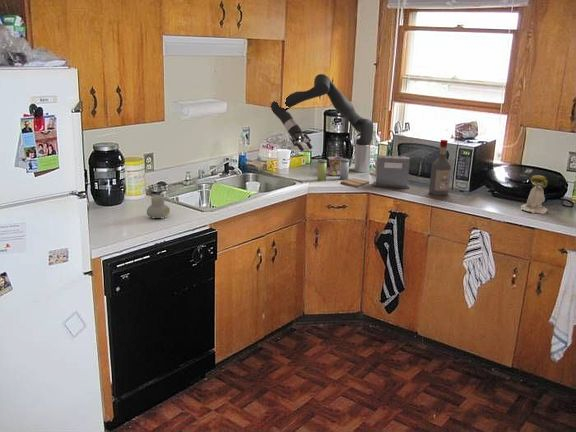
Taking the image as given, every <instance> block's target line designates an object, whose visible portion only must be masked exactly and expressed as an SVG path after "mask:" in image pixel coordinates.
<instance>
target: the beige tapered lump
mask: <svg viewBox="0 0 576 432" xmlns="http://www.w3.org/2000/svg"><path fill="white" fill-rule="evenodd" d="M530 182H531V187H532V188H531V189H530V192H529V193H528V194H529V195H528V198H527V200H526V203H525V204H522V205H520V211H522V210H523V211H526V212H530V213H531V214H537V213H538V214H542V215H543V214H547V213H548V208H546V207H545V206H543V203H544V202H545V200H546V198H545V194H544V193H545V192H544V189H545V188H546V187H548V180H547V177H545V176H544V175H540V174H538V175H537V174H536V175H535V174H534V175H532V176H531V178H530Z"/></svg>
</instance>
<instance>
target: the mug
mask: <svg viewBox="0 0 576 432" xmlns="http://www.w3.org/2000/svg"><path fill="white" fill-rule="evenodd" d="M341 159H344V157H342V156H329V157H328V159H326V160H327V162H328V163H329V167H328V166H326V169H328V175H330V176H333V177H340V167H341Z"/></svg>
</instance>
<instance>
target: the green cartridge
mask: <svg viewBox="0 0 576 432" xmlns="http://www.w3.org/2000/svg"><path fill="white" fill-rule="evenodd" d="M327 160H328V159H318V161H317V181H318V182H326V180H327V167H328V166H327V162H328V161H327ZM326 166H327V167H326Z"/></svg>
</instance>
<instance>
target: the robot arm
mask: <svg viewBox="0 0 576 432" xmlns="http://www.w3.org/2000/svg"><path fill="white" fill-rule="evenodd" d="M313 83H314V84H313V87H311V88H310V89H308V90H305V91H302V90H301V91H295V92H293V93H290V94H288V95H289V96H288V95H287V96H288V97H287V98H286V102H285V104H286V106H288V107H289V108H286V109H284V108H281V107H279V105H278V103H277V102H275V101H276V100H274V101H272V102H271V104H270V109H271V111H272V112H273V114H274V115H275V116H276V117H277V118H278V119H279V120H280V122H281V124H282V125H283V126H284V128H285V130H286V131H287V133H288V135H289V136H290V138H289V139H290V141H291V143H292V145H293V146H294V147H298V149H299V150H300V152H303V151H304V150H305V149H304V147H303V145H302V144H301V143H303V144H305V145H306V146H307V147H308V149H309V150H312V149H313V146H312V144H311V142H312V140H311V138H310V137H309V136H308V135H307V133H306V132H305V133H304V134H303V133H302V131H303V130H302V128H301V127H300V125H298V123H297V121H296V120H295V119H294V118H293V116H292V115H291V113H290V112H288V110H290V109H291V108H292V107H295V106H296V105H298V104H301V103H303V102H305V101H308V100H312V99H315V98H318V97H322V96H325V95H326V96H328V98H329V100H330V102H331V105H332V106H333V107H334V109H335V110H336V111H337V112H338V113H339V114H340V115H342V116H343V118H344V119H346V121H348V122H349V123H350V125H351V126H352V127H353V129H354V130H355V131H356V132H358V133H360V137H358V138H357V139H356V140H355V153H354V170H353V171H354V172H358V173H369V171H370V163H371V162H370V161H371V143H372V140H373V134H374V121H372V120H371V119H368V118H364V117H362V116H361V115H360V114H359V113H357V112H356V110H355V107H354V105H353V103H352V102H351V101H350V100H349V99H348V98H347V97H346V96H345V95H344V93H342V92H341V91H340V90H339V89H338V88H337V86H336V85H335V84H334V83H333V81H332V80H331V79H330V77H329V76H327V74H323V73H319V74H317V75H316V76H315V77H314V82H313Z"/></svg>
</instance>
